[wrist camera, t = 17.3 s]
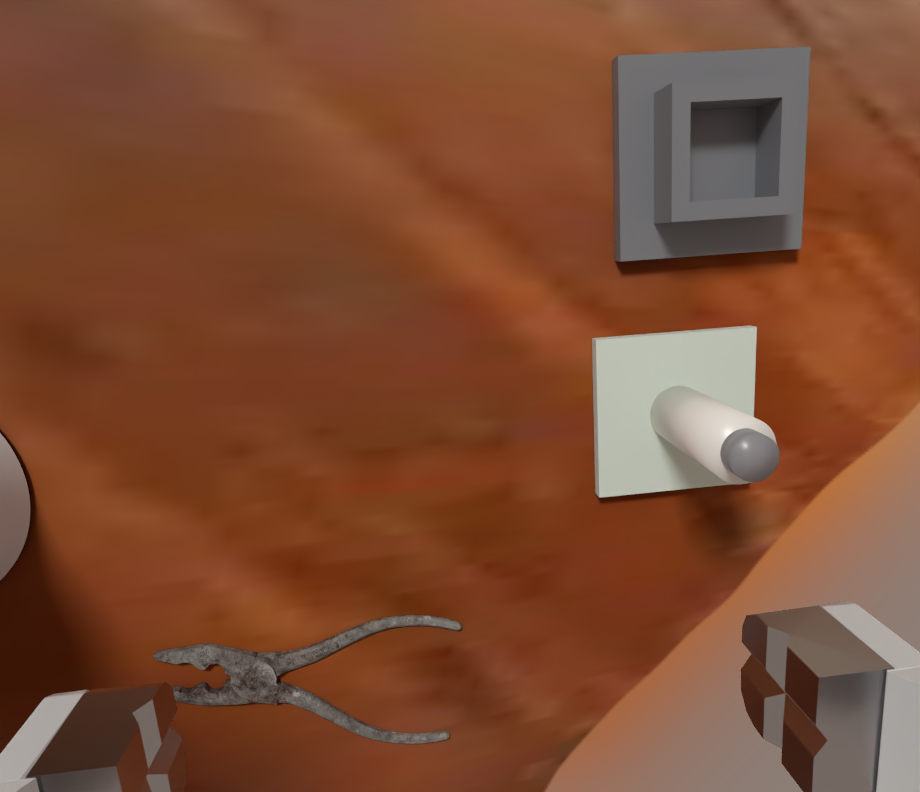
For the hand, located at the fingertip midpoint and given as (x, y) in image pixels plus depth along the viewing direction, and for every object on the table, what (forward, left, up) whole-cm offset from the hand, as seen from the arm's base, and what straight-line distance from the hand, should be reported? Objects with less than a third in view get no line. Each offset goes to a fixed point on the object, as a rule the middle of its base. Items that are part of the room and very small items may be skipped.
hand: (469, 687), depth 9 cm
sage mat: (+16, -5, -31) cm, 35 cm away
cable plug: (+16, -5, -30) cm, 35 cm away
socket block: (+18, +10, -31) cm, 37 cm away
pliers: (-8, -22, -32) cm, 40 cm away
